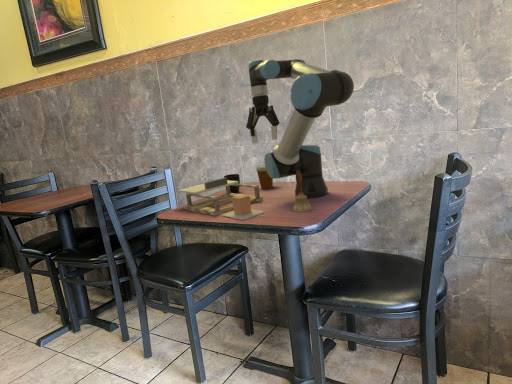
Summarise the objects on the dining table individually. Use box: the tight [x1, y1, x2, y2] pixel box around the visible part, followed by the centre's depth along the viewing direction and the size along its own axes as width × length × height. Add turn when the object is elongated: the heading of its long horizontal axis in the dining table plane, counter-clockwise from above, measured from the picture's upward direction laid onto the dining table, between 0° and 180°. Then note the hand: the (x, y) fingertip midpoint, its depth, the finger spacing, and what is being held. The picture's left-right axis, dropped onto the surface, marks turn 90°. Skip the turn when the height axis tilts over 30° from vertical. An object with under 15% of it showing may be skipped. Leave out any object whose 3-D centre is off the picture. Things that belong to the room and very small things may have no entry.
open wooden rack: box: [184, 183, 264, 216], centre depth 173 cm, size 24×28×7 cm
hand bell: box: [291, 170, 314, 213], centre depth 147 cm, size 8×8×16 cm
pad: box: [220, 208, 266, 221], centre depth 152 cm, size 14×12×1 cm
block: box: [232, 194, 252, 215], centre depth 151 cm, size 5×5×7 cm
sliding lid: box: [177, 177, 238, 195], centre depth 180 cm, size 15×25×4 cm, turn 131°
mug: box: [223, 173, 241, 194], centre depth 200 cm, size 8×12×10 cm
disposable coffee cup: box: [255, 164, 274, 190], centre depth 200 cm, size 10×10×12 cm
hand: (265, 141), depth 176 cm, fingers open, 13 cm apart
